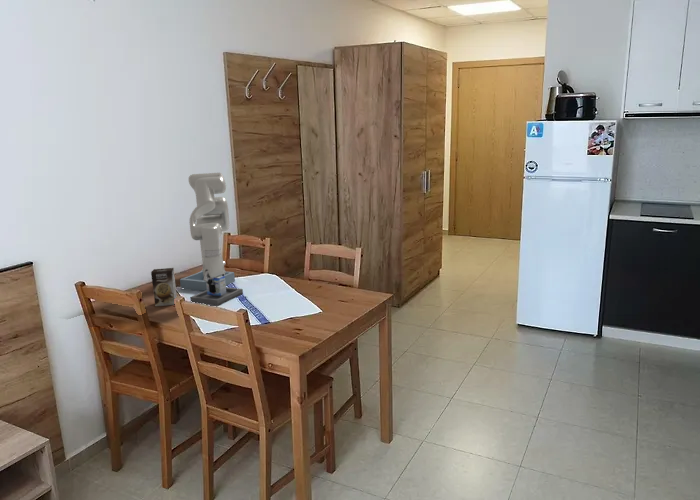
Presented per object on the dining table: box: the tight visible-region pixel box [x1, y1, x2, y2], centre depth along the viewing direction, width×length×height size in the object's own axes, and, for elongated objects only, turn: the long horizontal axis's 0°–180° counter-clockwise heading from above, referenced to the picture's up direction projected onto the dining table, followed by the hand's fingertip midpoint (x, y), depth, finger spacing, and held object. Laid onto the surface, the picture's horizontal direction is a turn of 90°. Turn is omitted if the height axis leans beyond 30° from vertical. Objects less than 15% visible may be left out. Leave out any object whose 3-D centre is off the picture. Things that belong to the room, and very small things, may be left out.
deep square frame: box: [179, 270, 236, 292], centre depth 273 cm, size 19×19×5 cm
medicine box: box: [206, 276, 227, 296], centre depth 250 cm, size 8×4×9 cm, turn 68°
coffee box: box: [150, 267, 178, 307], centre depth 245 cm, size 9×6×16 cm
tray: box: [189, 286, 244, 307], centre depth 251 cm, size 18×16×2 cm
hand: (216, 290), depth 250 cm, fingers closed on medicine box, 4 cm apart
